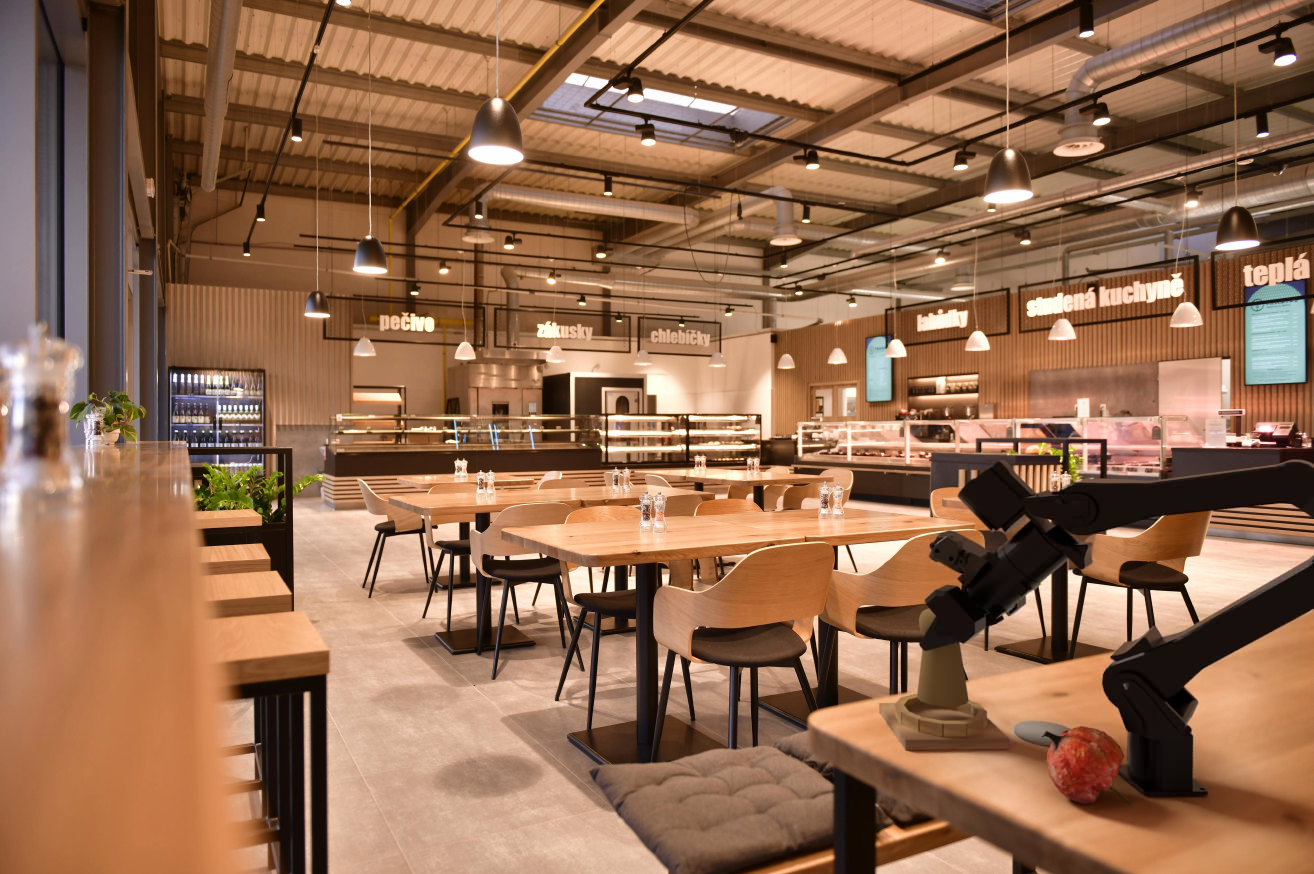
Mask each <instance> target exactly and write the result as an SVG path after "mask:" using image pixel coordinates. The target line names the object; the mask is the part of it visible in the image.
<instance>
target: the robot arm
mask: <svg viewBox="0 0 1314 874" xmlns="http://www.w3.org/2000/svg"><path fill="white" fill-rule="evenodd" d="M957 498H958V499H959V500H960V502H962V503H963V504H964V506H966V507H967V509H969V511H970V512H972V514H973V515H975V516H976V518H977V519H978V520H979V521H980V522H981V523H982V524H983V526H985V527H986V528H987V529H988V530H989V532H991V533H994V532H999V531H1000V530H1001V531H1002V532H1003V533H1004V534H1008V533H1010V532H1011V531H1013V530H1014V529H1015V528H1016V527H1018V526H1019V525H1020V524H1021V523H1023V522H1024V521H1025V520H1026V519H1027V518H1028V521H1027V523H1025V524H1024V525H1023V526H1022V527H1021V528H1020V529H1019V530H1018V531H1017V532H1015V534H1013V535H1012V536H1011V537H1010V538H1008V540H1007V541H1005V543H1003V544H1002V545H1001V546H999V547H996V548H995V549H994V550H993V551H992V550H989V549H987V548H985V547H984V546H982V545H981V544H979V543H977V542H976V541H974V540H972V539H970V538H968V537H966V536H964V535H962V534H961V533H959V532H957V531H954V530H946V531H942V532H940V533H938V534H937V536H936V538H935V540H934V541H932V542H930V544H929V549H930V551H929V554H928V558H929V559H930V560H931V561H933V562H935V563H940V564H942V565H944V566H945V567H947V568H949V569H950V570H952V571H955V573H958V574H960V575H959V576H958V577H957V578H956V579H957V581H958V582H959V583H960V584H961V585H960V586H961V587H960V586H959V585H953V584H945V585H943V586H941V587H939V588H936V589H934V590H933V591H932V592H931V593H930V594H929V595H928V596H926V598H925V599H924V603H925V606H927V608H928V609H930V610H931V611H932V612H933V613H934V614H935V615H936V617H935V618H934V620H933V622H932V624H931V625H930V627H929V628H928V630H927V632H926V633H925V635H923V636H922V638H921V640H919V641H920V642H919V644H918V646H919V647H920V648H921V649H923V650H924V651H928V650H932V649H936V648H939V647H943V646H947V645H951V644H954V643H958V642H960V644H963V645H965V644H966V643H968V642H969V641H971V640H973V639H974V638H976V637H977V636H979V634H981V632H983V631H984V630H986V628H988V627H992V626H994V625H997V624H999V623H1000V622H1002V621H1004V620H1005V618H1004V615H1007V617H1008V618H1009V617H1011V616H1012V615H1014V614H1015V613H1017V612H1018V611H1019V610H1021V609H1022V608H1023V607H1025V605H1026V604H1027V595H1028V594H1029V593H1031V592H1033V591H1035V590H1036V589H1038V587H1040V586H1042V582H1044V580H1046V579H1047V578H1048V577H1049V576H1051V575H1052V574H1053V573H1054V572H1055V571H1057V570H1058V569H1059V568H1060V567H1061V566H1062V565H1064V564H1065V563H1066V562H1067V561H1068V560H1069V561H1071V563H1073V564H1074V566H1075V567H1076V568H1078V569H1079V570H1081V571H1082V570H1084V569H1087V568H1088V567H1090V566H1092V565H1093V557H1092V556H1093V555H1092V549H1093V542H1091V541H1081V540H1079V539H1078V538H1077V537H1076V536H1085V537H1086V536H1092V535H1095V534H1098V533H1102V532H1106V531H1110V530H1113V529H1116V528H1117V529H1118V528H1120V527H1123V526H1127V525H1131V524H1134V523H1138V522H1140V521H1144V520H1149V519H1152V518H1157V517H1165V516H1166V517H1168V516H1177V515H1185V514H1194V513H1202V512H1203V513H1204V512H1205V513H1206V512H1212V511H1213V512H1214V511H1220V510H1221V511H1222V510H1233V509H1240V508H1250V507H1261V506H1267V505H1269V506H1271V505H1278V504H1290V505H1292V506H1294V507H1295V508H1297V509H1298V510H1300V511H1302V512H1303V513H1304V514H1306V515H1307V516H1309V517H1311V518H1313V519H1314V463H1312V462H1310V461H1307V460H1304V459H1289V460H1286V461H1284V462H1281V463H1277V464H1269V465H1262V466H1255V467H1247V468H1239V469H1232V470H1226V471H1225V470H1223V471H1216V472H1208V473H1200V474H1193V475H1186V476H1179V477H1178V476H1177V477H1172V478H1171V477H1170V478H1163V479H1162V478H1161V479H1156V480H1155V479H1154V480H1152V479H1151V480H1142V479H1140V480H1139V479H1129V478H1128V479H1126V478H1097V477H1096V478H1095V477H1094V478H1092V477H1091V478H1086V479H1082V480H1079V481H1075V482H1072V483H1068V484H1065V485H1064V486H1062V487H1061V488H1060V489H1059V490H1055V491H1051V489H1047V490H1042V491H1039V492H1036V491H1035V490H1034V489H1033V488H1032V487H1030V486H1029V485H1028V484H1027V483H1026V482H1025V481H1024V480H1023V478H1021V477H1020V476H1019V475H1018V473H1016V471H1015V469H1014V468H1013V466H1012V465H1011V464H1009V463H1008V462H1007V460H1005V459H1001V460H997V461H995V462H994V463H993V465H991V467H989V468H987V469H985V470H984V471H983V472H981V473H980V474H979V475H977V476H976V477H973V478H971V479H970V480H969V481H968V482H966V483H965V485H964V486H963V487H962V488H961V489H960V491H958V494H957ZM1051 521H1052V522H1051ZM1053 522H1057V523H1058V524H1056V525H1055V524H1054V523H1053ZM1313 610H1314V554H1313V555H1312V556H1311V557H1309V558H1308V559H1307V560H1304V561H1303V562H1301V563H1300V564H1298V565H1296V566H1295V567H1292V568H1291V569H1288V570H1287V571H1285V572H1284V573H1282V574H1280V575H1278V576H1276V577H1275V578H1274V579H1272V580H1270V581H1268V582H1266V583H1265V584H1262V585H1261V586H1259V587H1258V588H1256V589H1254V590H1252V591H1250V592H1248V593H1247V594H1245V595H1243V596H1242V597H1240V598H1239V599H1237V600H1234V601H1233V602H1231V603H1230V604H1228V605H1226V606H1223V608H1221V609H1219V610H1217V611H1216V612H1214V613H1212V614H1210V615H1209V616H1207V617H1205V618H1204V619H1202V620H1200V621H1198V622H1196V623H1195V624H1193V625H1191V626H1189V627H1187V628H1186V629H1184V630H1181V631H1179V632H1175V633H1172V634H1168V635H1164V636H1163V635H1162V634H1161V632H1160V630H1159V629H1158V627H1157V625H1153V626H1152V627H1151V628H1149V630H1147V631H1146V632H1145V633H1144V634H1143V635H1142V636H1140V637H1139V638H1137V639H1134V640H1130V641H1124V642H1123V643H1122V644H1121V645H1120V646H1119V647H1118V648H1116V650H1115V651H1114V652H1113V653H1112V654H1111V655H1110V657H1109V658H1110V659H1111V660H1112V662H1111V663H1109V665H1108V666H1107V667H1106V668H1105V670H1104V671H1103V673H1102V677H1101V678H1102V680H1101V681H1102V682H1101V686H1102V689H1103V692H1104V695H1105V696H1106V698H1107V700H1108V701H1109V702H1110V703H1111V704H1112V705H1113V706H1114V707H1115V708H1117V710H1118V712H1119V713H1118V714H1119V715H1120V718H1121V720H1122V722H1123V726H1124V727H1125V730H1126V732H1127V743H1126V744H1127V746H1126V747H1127V748H1126V749H1127V750H1126V751H1127V756H1126V757H1127V758H1126V759H1127V764H1122V763H1121V764H1120V769H1119V772H1118V775H1120V776H1121V777H1122V778H1123V779H1124V780H1126V781H1127V782H1128V783H1129V784H1130V785H1132V786H1133V787H1134V788H1135V789H1137V790H1138V791H1139V792H1140V793H1142V794H1143V795H1145V796H1149V797H1150V796H1151V797H1152V796H1155V797H1157V796H1158V797H1159V796H1160V797H1161V796H1164V797H1166V796H1167V797H1168V796H1169V797H1170V796H1171V797H1172V796H1174V797H1175V796H1208V795H1209V789H1208V788H1206V787H1205V786H1204V785H1202V784H1201V783H1200V782H1198V781H1197V780H1195V779H1194V734H1193V728H1192V727H1191V726H1190V725H1189V724H1188V723H1189V721H1190V720H1191V719H1192V717H1193V715H1194V714H1195V711H1196V709H1197V707H1198V705H1199V700H1198V699H1197V698H1196V697H1195V696H1194V695H1193V693H1191V692H1190V691H1189V689H1187V688H1186V687H1185V686H1186V685H1188V683H1190V682H1191V681H1192V680H1193V679H1194V678H1195V677H1196V676H1198V674H1199V673H1201V672H1202V671H1203V670H1204V669H1206V668H1207V667H1209V666H1211V665H1213V664H1215V663H1217V662H1219V661H1221V660H1222V659H1224V658H1226V657H1228V656H1230V655H1231V654H1233V653H1235V652H1237V651H1239V650H1240V649H1243V648H1244V647H1246V646H1248V645H1251V644H1253V643H1254V642H1256V641H1258V640H1259V639H1261V638H1263V637H1265V636H1267V635H1269V634H1270V633H1272V632H1274V631H1276V630H1278V629H1279V628H1282V627H1283V626H1285V625H1287V624H1289V623H1290V622H1292V621H1295V620H1297V619H1299V618H1300V617H1302V616H1304V615H1306V614H1307V613H1310V612H1311V611H1313Z"/></svg>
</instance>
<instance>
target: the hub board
mask: <svg viewBox="0 0 1314 874" xmlns="http://www.w3.org/2000/svg"><path fill="white" fill-rule="evenodd" d="M878 704H879V706H878V710H879V711H878V712H879V714H880V715H881V717H882V718H883V720H884V721H885V722H886V724H887V726H889V728H890V730H891V731H892V733H893V734H894V736H895V737H896V738H897V739H898V741H899V743H900V744H901V746H902V747H903V748H904V750H905V751H924V750H925V751H927V750H929V751H930V750H931V751H932V750H933V751H934V750H936V751H938V750H940V751H942V750H944V751H945V750H952V749H953V750H1009V749H1010V738H1009V737H1008V736H1007V735H1006V734H1005V733H1004V732H1003V731H1002V730H1001V729H1000V728H999V727H998V726H997V725H996V724H995V723H994V722H993V721H992V720H990V718H989V717H988V711H987V710H986V709H985V708H984V707H983V706H982V705H981V704H980V703H978V702H976V701H972V700H970V699H969V701H968V702H967V703H966V704H964V705H961V706H955V707H943V706H935V705H930V704H927V703H924V702H922V701H920V700H919V699H918V698H917V693H912V694H909V695H905V696H901V697H899V699H898V700H897V701H896V702H879V703H878ZM953 750H952V751H953Z"/></svg>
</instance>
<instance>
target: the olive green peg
mask: <svg viewBox="0 0 1314 874" xmlns="http://www.w3.org/2000/svg"><path fill="white" fill-rule="evenodd" d="M935 617H936V615H935V614H934V613H933V612H932V611H931V610H930V609H929V608H926V609H924V610H922V612H921V613H920V615H919V618H918V627H919V629H920V632H921V634H922V635H923V636H924V635H925V633H926V632H927V630H928V628H929V627H930V625H931V624H932V622H933V620H934V618H935ZM921 649H922V648H921ZM920 658H921V660H920V666H919V667H920V668H919V676H918V685H917V692H916V694H917V698H918V699H919V700H920V701H922V702H924V703H927V704H930V705H935V706H943V707H955V706H961V705H964V704H966V703H967V702H968V701H969V700H970V699H969V694H968V687H967V681H966V676H965V675H966V674H965V669H964V668H965V667H964V662H963V657H962V649H961V642H958V643H954V644H951V645H947V646H943V647H939V648H936V649H932V650H928V651H924V650H923V649H922V651H921V657H920Z"/></svg>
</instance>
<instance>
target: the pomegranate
mask: <svg viewBox="0 0 1314 874" xmlns="http://www.w3.org/2000/svg"><path fill="white" fill-rule="evenodd" d="M1044 736H1046V737H1049V738H1050V739H1051V740H1052V744H1051V746H1049V747H1048V751H1047V755H1046V764H1047V768H1048V774H1049V776H1050V779H1051V782H1052V784H1054V786H1055V788H1056V789H1057V790H1058V791H1059V792H1060V793H1061V794H1062V795H1063V796H1064V797H1065V798H1067V799H1070V800H1071V801H1073V802H1076V803H1080V804H1081V805H1085V804H1093V803H1094V802H1096V800H1097V799H1098V797H1099V796H1100V791H1107V790H1108V789H1110V790H1111V791H1113V792H1114V793H1115V794H1117V795H1118V796H1120V797H1121V798H1122V799H1124V800H1125V801H1126V802H1127V803H1128V804H1130V805H1131V804H1133V802H1132V801H1131V800H1129V799H1128V798H1127V797H1126V796H1125V795H1124V794H1122V792H1121V791H1119V790H1118V789H1116V788H1115V787H1114V786H1113V784H1114V779H1115V778H1116V777H1118V775H1119V774H1118V772H1119V769H1120V764H1122V762H1123V759H1124V758H1125V754H1124V751H1123V749H1122V748H1121V746H1120V745H1119V743H1118V742H1117V741H1116V740H1115V739H1114V738H1113V737H1112V736H1111V735H1110V734H1108V733H1106V732H1105V731H1103V730H1099V729H1098V728H1097V729H1096V728H1093V727H1087V726H1081V725H1079V726H1077V727H1073V728H1070V730H1066V731H1063V732H1062V733H1061V734H1060V735H1059V736H1057V735H1055V734H1053V733H1050V732H1048V731H1046V732H1045V733H1044V734H1043V735H1042V737H1044Z"/></svg>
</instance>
